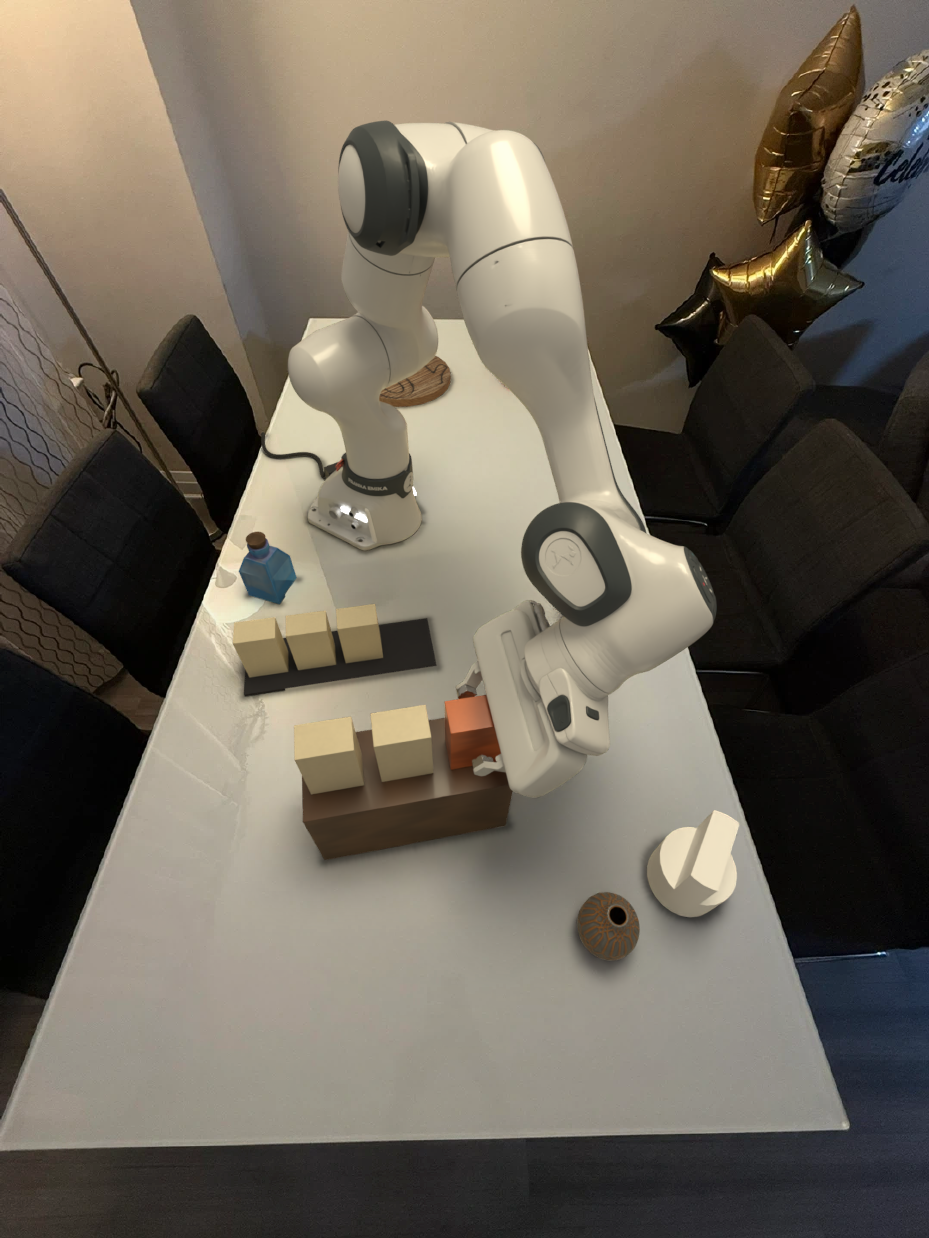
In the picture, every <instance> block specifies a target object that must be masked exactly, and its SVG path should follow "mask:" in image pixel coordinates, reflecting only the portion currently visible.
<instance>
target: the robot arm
mask: <svg viewBox="0 0 929 1238" xmlns="http://www.w3.org/2000/svg"><path fill="white" fill-rule="evenodd" d="M339 153H340V154H339V159H338V166H337V169H338V170H337V192H338V193H337V194H338V200H339V205H340V210H341V215H342V218H343V222H344V224H345V227H346V229H347V233H346V239H345V246H344V252H343V257H342V264H341V265H342V266H341V270H340V280H341V285H342V289H343V292H344V294H345V296H346V298H347V300H348V302H349V303H350V305H351V306H352V307H353V308H354V310H356V311H357V312H356V313H354V314H353V315H351V316H349V317H346V318H344V319H342V320H339V321H337V322H335V323H332V324H330V325H326V326H325V327H321V328H319V329H317V330H314V331H313V332H312V333H310V334H309V335H307V336H306V337H305V338H303V339H302V340H300V341H299V342H297V344H295V345H294V346H292V348H291V349H290V350H289V353H288V358H287V373H288V379H289V381H290V384H291V386H292V389H293V391H294V392H295V394H296V395H297V396H298V398H299V399H300V400H301V401H302V402H303V403H304V404H306V405H307V406H309V407H310V408H311V409H313V410H316V411H318V412H320V413H324V414H325V415H326V414H327V415H329V416H330V417H331V418H332V419H333V420H334V421H335V422H336V424H337V426H338V427H339V431H340V432H341V436H342V441H343V444H344V450H345V452H344V453H343V454H342V455H341V456H340V458H341V459H340V460H339V461H337V462H333V463H332V464H328V465H326V466H323V462H322V459H320V457H319V456H318V455H317V454H315V453H313V452H309V451H297V452H290V453H283V454H277V453H273V452H270V451H269V450H268V449H267V445H266V432H264V431H262V432H261V433H260V444H261V445H260V446H261V448H262V451H263V453H264V454H265V455H266V456H267V457H270V458H274V459H289V458H295V457H311V458H312V459H314V460H316V462H317V465H318V470H319V474H320V477H322V478H324V479H325V480H324V481H323V483H322V484H321V486H320V487H319V490H318V492H317V496H316V498H315V499H314V500H313V502H312V503H311V504H310V506H309V509H308V513H307V520H308V523H310V524H311V525H313V526H315V527H317V528H318V529H321V530H323V531H324V532H326V533H329V534H330V535H333V536H334V537H336V538H338V539H340V540H341V541H344V542H346V543H348V544H349V545H351V546H353V547H355V548H357V549H358V550H362V551H370V550H372V549H375V548H377V547H379V546H383V545H385V546H386V545H392V544H397V543H400V542H402V541H405V540H407V539H409V538H410V537H411V536H413V535H414V534H415V533H416V532H417V531H418V530H419V528H420V526H421V524H422V520H423V516H422V512H421V510H420V508H419V505H418V502H417V500H416V496H417V491H416V489H415V487H414V470H413V469H414V468H413V460H412V459H413V458H412V455H411V453H410V449H409V448H410V447H409V433H408V423H407V421H406V419H405V417H404V415H403V413H402V412H401V411H400V410H399V409H398V408H397V407H394V406H392V405H390V404H387V403H384V402H380V401H379V396H380V393H381V391H382V390H384V389H385V388H387V387H389V386H391V385H393V384H395V383H397V382H400V381H402V380H404V379H406V378H408V377H410V376H412V375H414V374H415V373H417V372H418V371H419V370H420V369H422V368H423V367H424V366H425V365H426V364H427V363H429V362H430V361H431V360H432V359H433V358H434V357H435V356H437V352H438V349H439V333H438V327H437V325H436V322H435V319H434V318H433V316H432V315H431V313H430V312H429V310H428V309H427V308H426V307H425V306H424V305H423V302H424V297H425V294H426V290H427V288H428V283H429V280H430V278H431V277H430V276H431V272H432V269H433V266H434V263H435V259H436V258H439V259H441V258H442V259H443V258H444V259H446V258H447V259H448V258H449V260H450V261H449V262H450V267H451V273H452V277H453V281H454V286H455V291H456V294H457V299H458V303H459V308H460V311H461V315H462V318H463V321H464V324H465V327H466V330H467V333H468V336H469V337H470V340H471V342H472V345H473V347H474V349H475V351H476V353H477V355H478V357H479V359H480V362H481V363H482V365H483V366H484V367H485V368H486V369H487V370H488V372H490V373H491V374H492V375H493V376H494V377H495V378H496V379H497V380H498V381H499V382H500V383H502V385H504V386H505V387H506V389H508V390H509V391H510V392H511V393H512V394H513V395H514V396H515V398H516V399H518V401H519V402H520V403H521V405H523V406H524V407H525V409H526V410H527V412H528V413H529V415H530V416H531V417H532V419H533V421H534V423H535V425H536V427H537V430H539V433H540V436H541V439H542V442H543V443H542V444H543V446H544V450H545V453H546V457H547V460H548V464H549V468H550V472H551V475H552V478H553V482H554V486H555V489H556V493H557V498H558V501H559V502H558V503H555V504H552V505H549V506H548V507H545V508H544V509H543V510H541V511H539V513H537V514H536V516H534V518H533V519H532V520H531V521H530V523H529V524H528V525H527V528H526V529H525V531H524V534H523V537H522V541H521V548H520V556H521V557H520V558H521V564H522V567H523V570H524V573H525V575H526V577H527V579H528V580H529V582H530V583H531V584H532V586H533V587H534V588H535V589H536V590H537V591H538V592H539V594H540V595H542V597H543V598H544V599H545V600H546V601H547V602H548V603H549V605H551V606H552V607H553V608H554V609H555V610H556V611H557V612H558V613H559V614H561V616H562V617H560V619H558V620H557V621H555V622H554V623H552V624H551V625H550V623H549V621H548V619H547V616H546V611H545V609H544V607H543V605H542V604H541V603H539V602H537V601H536V600H534V599H533V600H532V599H526V600H524V601H522V602H520V603H519V604H518V605H517V606H514V608H513V609H511V610H508V611H506V612H504V613H502V614H500V615H497V616H496V617H493V618H492V619H491V620H489V621H488V622H486V623H484V624H483V625H481V626H480V627H478V628H477V629H476V631H475V633H474V635H473V637H472V644H473V647H474V651H475V655H476V659H477V661H475V662H474V663H473V664H471V666H470V668H469V670H468V672H467V674H466V676H465V678H464V680H463V681H461V682H460V683H458V684H457V685H455V691H456V695H457V699H463V698H469V697H475V696H478V692H477V689H478V687H479V686H480V684H481V683H483V687H484V691H485V695H487V699H488V703H489V707H490V711H491V715H492V719H493V723H494V727H495V731H496V735H497V739H498V743H499V747H500V751H501V754H499V755H498V756H496V758H495V759H496V761H497V762H493V758H492V757H489V756H488V757H487V756H485V755H480V756H478V757H477V758H476V759H473V760H472V765H473V771H474V774H475V775H478V776H486V775H487V774H489V773H491V772H493V771H499V772H506V775H507V779H508V783H509V787H510V789H511V790H512V791H513V793H516V794H518V795H520V796H524V797H528V798H536V799H537V798H541V797H543V796H546V795H547V794H549V793H551V792H553V791H554V790H556V789H558V788H559V787H561V786H563V785H564V784H566V783H567V782H569V781H570V780H572V779H573V778H574V777H575V776H576V775H577V774H579V773H580V772H581V771H582V770H583V768H584V767H585V765H586V763H587V760H588V756H592V757H599V756H602V755H604V754H606V753H607V752H608V751H609V750H610V747H611V736H610V725H609V724H610V723H609V695H611V694H613V693H614V692H616V691H617V690H618V689H619V688H621V686H622V685H623V684H624V683H625V682H626V681H627V680H629V679H630V678H632V677H634V676H636V675H639V674H642V673H647V672H650V671H652V670H654V669H655V668H657V667H659V666H660V665H662V664H664V663H665V662H668V660H671V659H672V658H674V657H675V656H677V655H678V654H680V653H682V652H683V651H685V649H687V648H688V647H690V646H691V645H693V644H694V643H696V642H697V641H698V640H699V639H701V638H702V637H703V636H704V635H705V634H707V632H708V631H709V630H710V629H711V628H712V627H713V625H714V624H715V623H714V622H715V620H716V617H717V597H716V595H715V593H714V588H713V587H712V583H711V582H710V579H709V577H708V574H707V572H706V571H705V569H704V567H703V565H702V564H701V562H700V561H699V559H698V557H697V556H696V555H695V554H694V552H693V551H692V550H690V549H689V548H688V547H687V546H683V545H677V544H673V543H670V542H667V541H665V540H662V539H659V538H657V537H655V536H653V535H651V534H649V533H648V532H647V530H646V527H645V524H644V522H643V520H642V518H641V517H640V515H639V514H638V512H637V511H636V510H635V509H634V507H633V506H632V504H631V503H630V502H629V501H628V500H627V498H626V497H625V495H624V494H623V493H622V491H621V489H620V487H619V485H618V483H617V479H616V476H615V473H614V470H613V465H612V462H611V457H610V454H609V449H608V446H607V442H606V439H605V434H604V431H603V427H602V426H603V425H602V423H601V418H600V414H599V410H598V406H597V402H596V398H595V394H594V393H595V392H594V388H593V387H594V386H593V377H592V372H591V362H590V356H589V348H588V339H587V329H586V319H585V310H584V309H585V308H584V300H583V293H582V286H581V280H580V275H579V269H578V264H577V258H576V254H575V250H574V245H573V241H572V237H571V232H570V228H569V225H568V221H567V219H566V215H565V211H564V208H563V206H562V202H561V199H560V196H559V194H558V190H557V188H556V185H555V183H554V180H553V178H552V175H551V173H550V170H549V168H548V166H547V163H546V160H545V157H544V155H543V152H542V150H541V149H540V148H539V146H538V145H537V144H536V143H535V142H533V141H532V140H531V139H530V138H529V137H527V135H525V134H522V133H520V132H518V131H515V130H509V129H497V130H494V129H490V128H487V127H483V126H477V125H473V124H469V123H463V122H456V121H455V122H454V121H445V122H444V123H443V122H442V123H441V122H439V123H438V122H407V123H396V124H394V122H391V121H389V120H378V121H371V122H368V123H363V124H360V125H358V126H355V127H354V128H352V129H351V130H350V132H349V134H348V135H347V137H346V139H345V140H344V143H343V144H342V147H341V149H340V152H339Z"/></svg>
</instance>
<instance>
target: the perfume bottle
mask: <svg viewBox="0 0 929 1238" xmlns="http://www.w3.org/2000/svg"><path fill="white" fill-rule="evenodd" d="M245 543H246V548H247V550H248V552H247V553H246V555H245V556H244V557H243V559H242V560H241V561H242V562H241V563H240V566H239V569H238V574H239V575H240V578H241V580H242V583H243V585H244V588H245V590H246V592H247V595H248V596H249V597H253V598H256V599H261V600H263V601H267V602H269V603H274V604H277V605H281V604H282V602H283V601H284V599H285V598H286V594H287V592H288V591H289V590H290V589H291V587H292V586H293V584H294V582H295V581H296V580H297V579H298V577H297V574H296V571H295V567H294V564H293V562H292V557H291V555H290V554H288V553H287V552H285V551H284V550H283V549H280V548H279V547H276V546H272V545H270V542H269V540H268V538H267V536H266V534H265V533H264V532H262V531H252V532H250V533H248V534H247V535H246V537H245Z"/></svg>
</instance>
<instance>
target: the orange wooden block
mask: <svg viewBox="0 0 929 1238" xmlns="http://www.w3.org/2000/svg"><path fill="white" fill-rule="evenodd" d="M443 703H444V718H445V742H446V747H447V752H448V757H449V763H450V768H451V770H452V769H458V768H464V767H469V766H473V765H472V760H473V759H476V758H477V757H478V756H480V755H485V756H487V757H488V756H489V757H492V758H493V762H497V761H496V759H495V758H496V756H498V755H499V754H501V751H500V747H499V743H498V739H497V735H496V731H495V727H494V723H493V719H492V715H491V711H490V707H489V703H488V699H487V695H486V694H482V695H476V696H474V697H469V698H463V699H458V698H457V699H451V700H446V701H445V700H444V702H443Z"/></svg>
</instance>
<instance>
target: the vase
mask: <svg viewBox="0 0 929 1238" xmlns="http://www.w3.org/2000/svg"><path fill="white" fill-rule="evenodd" d="M576 926H577V932H578V936H579V938H580V941H581V944H582V945H583V946H584V947H585V948H586V950H587V951H588V952H589V953H590V954H592V955H593V956H594V957H596V958H598V959H601V960H604V961H611V962H613V961H618V960H621V959H624V958H625V957H627V956H628V955H630V953H632V951H634V949H635V948H636V946H637V944H638V941H639V939H640V931H641V928H640V921H639V917H638V914H637V911H636V910H635V908H634V907H633V906H632V904H631V903H630V902H629V901H628V900H627V899H626V898H624V897H623V896H621V895H620V894H617V893H615V892H608V891H602V892H598V893H595V894H592V895H591V896H589V897H588V898H587V899H586V900H585V901H584V902H583V904H581V906H580V909H579V911H578V914H577V919H576Z"/></svg>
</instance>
